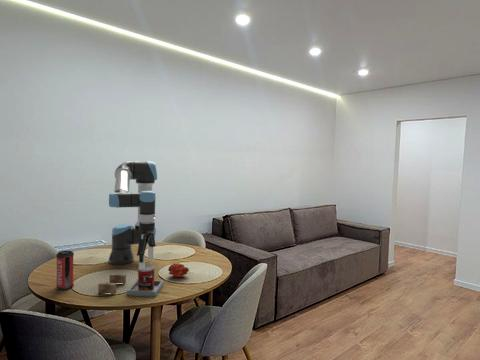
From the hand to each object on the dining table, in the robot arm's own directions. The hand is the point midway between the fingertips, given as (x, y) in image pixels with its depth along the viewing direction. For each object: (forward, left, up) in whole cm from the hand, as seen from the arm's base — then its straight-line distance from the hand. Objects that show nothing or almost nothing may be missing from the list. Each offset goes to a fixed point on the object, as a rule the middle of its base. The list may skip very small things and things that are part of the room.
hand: (146, 263), depth 155 cm
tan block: (-17, 0, -14) cm, 22 cm away
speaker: (-41, -1, -14) cm, 43 cm away
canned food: (0, 0, -13) cm, 13 cm away
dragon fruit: (+12, +20, -14) cm, 27 cm away
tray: (0, 0, -14) cm, 14 cm away
